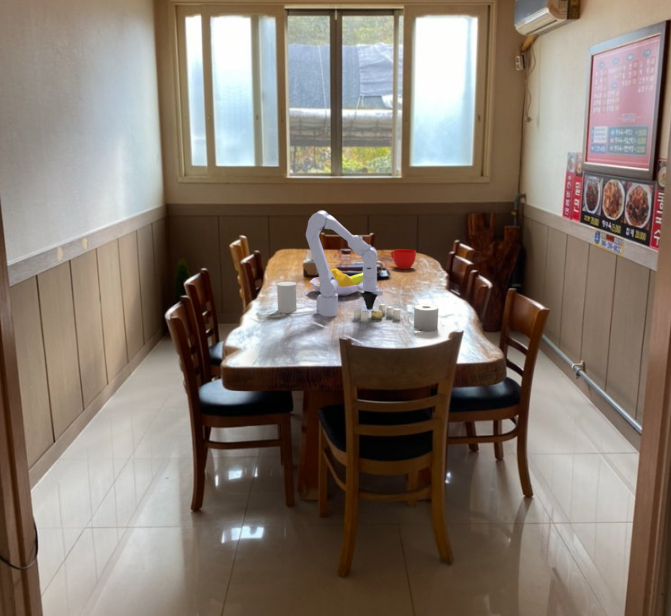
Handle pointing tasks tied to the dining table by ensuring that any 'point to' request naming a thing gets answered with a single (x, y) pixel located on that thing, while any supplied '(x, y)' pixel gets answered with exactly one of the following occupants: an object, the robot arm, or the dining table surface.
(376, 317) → the brass nut
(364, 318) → the spacers
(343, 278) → the fruit bowl
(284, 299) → the cup
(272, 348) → the dining table surface
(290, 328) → the dining table surface
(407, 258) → the ceramic cup
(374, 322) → the field board
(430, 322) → the toilet tissue
